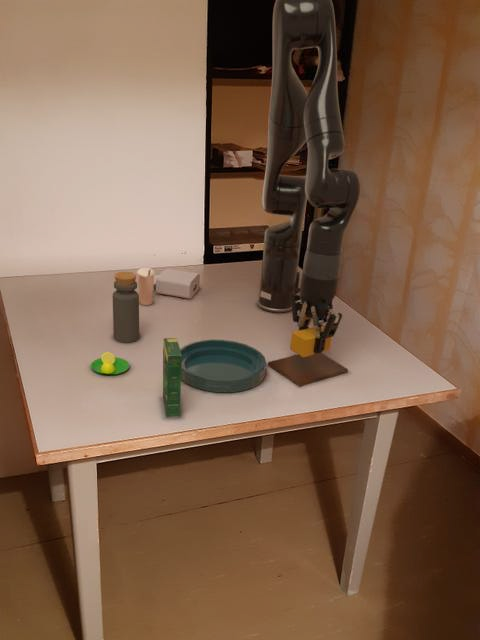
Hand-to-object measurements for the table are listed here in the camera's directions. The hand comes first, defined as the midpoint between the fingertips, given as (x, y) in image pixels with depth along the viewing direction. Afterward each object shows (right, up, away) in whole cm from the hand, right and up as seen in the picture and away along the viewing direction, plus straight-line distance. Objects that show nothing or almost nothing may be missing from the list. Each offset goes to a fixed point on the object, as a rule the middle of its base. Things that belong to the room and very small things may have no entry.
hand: (310, 347), depth 145 cm
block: (0, 0, 0) cm, 1 cm away
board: (0, -4, +3) cm, 5 cm away
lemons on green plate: (-43, -5, -4) cm, 43 cm away
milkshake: (-39, +14, +28) cm, 50 cm away
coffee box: (-29, -14, -15) cm, 35 cm away
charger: (-35, +20, +37) cm, 54 cm away
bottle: (-41, +3, +10) cm, 43 cm away
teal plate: (-19, -5, -1) cm, 20 cm away
